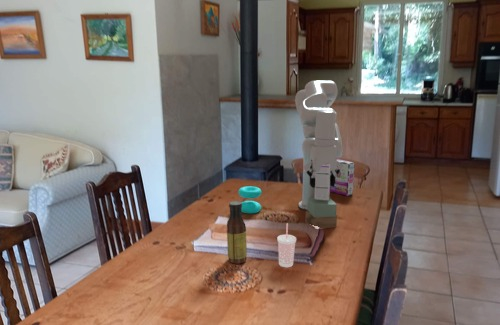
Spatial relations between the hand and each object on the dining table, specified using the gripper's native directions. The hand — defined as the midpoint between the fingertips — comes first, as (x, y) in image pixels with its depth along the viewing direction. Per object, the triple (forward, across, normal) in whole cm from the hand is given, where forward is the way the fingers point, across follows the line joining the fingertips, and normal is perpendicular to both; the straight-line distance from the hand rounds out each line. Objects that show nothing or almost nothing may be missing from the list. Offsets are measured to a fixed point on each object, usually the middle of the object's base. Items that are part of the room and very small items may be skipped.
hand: (322, 186), depth 174 cm
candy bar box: (+16, -27, -38) cm, 49 cm away
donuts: (+16, +24, -22) cm, 36 cm away
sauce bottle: (+16, +40, +25) cm, 50 cm away
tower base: (+16, 0, 0) cm, 16 cm away
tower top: (+11, 0, 0) cm, 11 cm away
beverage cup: (+16, +25, +31) cm, 43 cm away
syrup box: (+5, 0, 0) cm, 5 cm away
